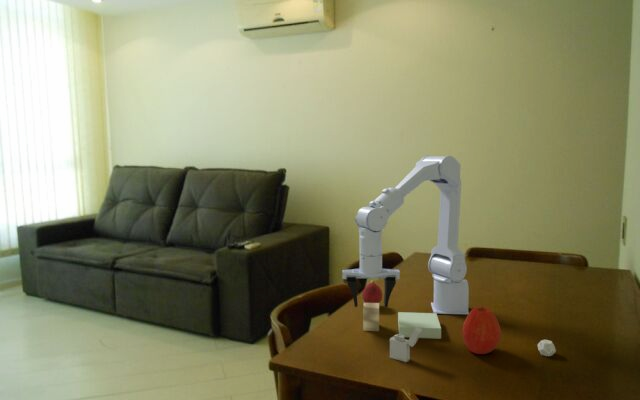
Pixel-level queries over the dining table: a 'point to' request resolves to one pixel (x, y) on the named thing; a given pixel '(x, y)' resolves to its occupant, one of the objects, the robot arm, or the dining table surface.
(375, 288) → the onion
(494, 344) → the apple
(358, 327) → the dining table surface
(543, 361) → the dining table surface
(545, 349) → the game die
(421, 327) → the stacking block
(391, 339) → the lighter
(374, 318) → the beech block
